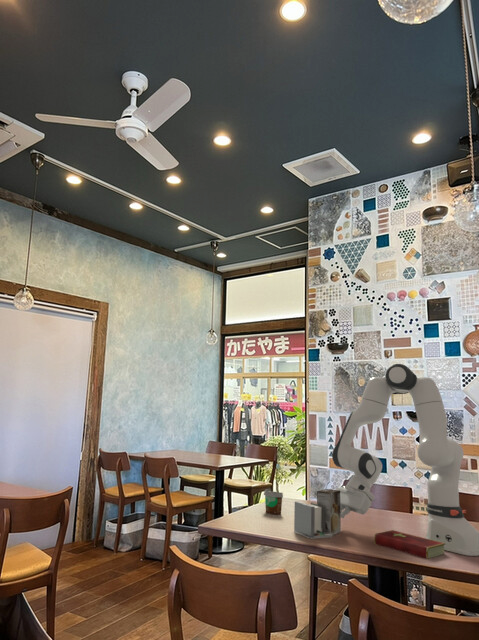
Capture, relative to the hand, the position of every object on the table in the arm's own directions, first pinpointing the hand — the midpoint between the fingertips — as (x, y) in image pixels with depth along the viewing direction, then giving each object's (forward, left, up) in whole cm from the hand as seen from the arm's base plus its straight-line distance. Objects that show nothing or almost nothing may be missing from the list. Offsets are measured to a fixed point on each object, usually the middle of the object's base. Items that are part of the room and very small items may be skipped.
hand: (339, 516), depth 186 cm
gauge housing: (-1, +14, -6) cm, 15 cm away
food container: (+39, +9, -6) cm, 41 cm away
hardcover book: (-29, -8, -6) cm, 30 cm away
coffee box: (0, +6, -6) cm, 8 cm away
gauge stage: (-1, +14, -4) cm, 14 cm away
